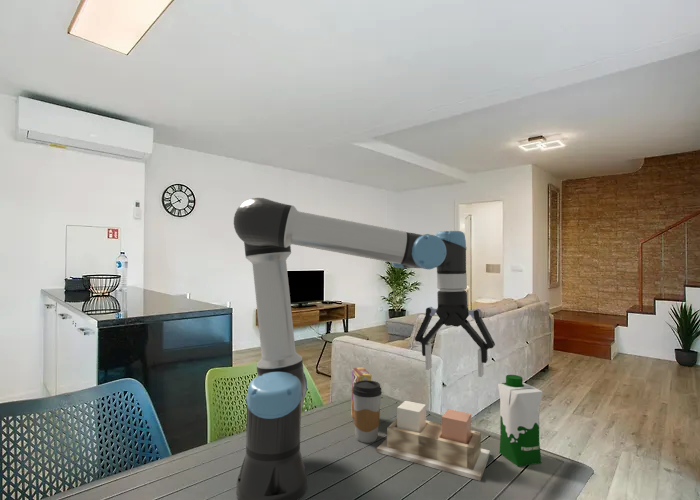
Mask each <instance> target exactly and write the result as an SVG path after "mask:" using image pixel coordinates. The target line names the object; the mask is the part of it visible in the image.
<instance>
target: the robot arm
mask: <svg viewBox="0 0 700 500" xmlns="http://www.w3.org/2000/svg"><path fill="white" fill-rule="evenodd" d="M233 228H234V231H235V233H236V235H237V237H238V238H239V239H240V240H241V241H242V242H243V244H244V245H243V246H244V254H245V259H247V260H248V261H249V262H250V263H251V265H252V274H253V281H254V282H253V283H254V294H255V303H256V312H257V313H256V314H257V320H258V323H257V324H258V331H259V332H258V334H259V341H260V352H261V358H260V359H259V360H258V361H257V363H256V373H257V376H256V377H255V378H253V379H252V380H251V381H250V382H249V385H248V388H247V394H246V398H245V400H246V401H245V402H246V425H245V426H246V430H245V431H246V435H245V436H246V437H245V456H244V458H243V461H242V465H241V468H240V470H239V474H238V476H237V479H236V492H235V493H236V498H237V499H238V500H300V499H301V498H302V497H304V496H305V494H306V492H307V489H308V472H307V468H305V464H304V460H303V456H302V452H301V426H302V425H301V422H302V421H301V419H302V410H303V405H304V400H305V397H306V393H307V390H308V382H307V381H308V380H307V379H308V378H307V377H306V374H305V372H304V365H303V362H304V361H303V357H302V355H301V354H299V353H297V351H296V344H295V343H296V342H295V334H294V332H295V331H294V322H293V315H292V304H291V296H290V295H291V292H290V285H289V284H290V283H289V277H288V266H287V265H288V264H287V259H288V258H289V256H290V255H291V254H292V247H291V245H295V246H300V247H306V248H312V249H316V250H320V251H321V250H322V251H328V252H333V253H339V254H343V255H350V256H355V257H361V258H366V259H370V260H371V259H372V260H376V261H377V260H378V261H382V262H388V263H391V264H392V267H393V268H395V269H403V270H404V269H423V270H433V269H435V268H436V278H437V279H436V280H437V283H436V285H437V286H436V287H437V289H438V291H437V308H436V307H435V308H434V307H432V306H429V307H426V309H425V315H424V318H423V319H422V322H421V324H420V325H419V329H418V331H417V333H416V334H415V335H416V336H415V337H414V341H416V342H419V343H420V344H421V354H422V356H423V357H425V370H427V371H429V370H430V369H432V367H433V366H432V365H433V363H432V361H433V360H432V343H431V342H430V340H431V339H432V338H433V337H434V336H435V335H436V333H437V332H438V331H439V329H441V327H442V326H444V325H445V326H446V327H450V326H451V327H461V328H462V329H463V330H465V331H466V333H467V334H468V335H469V336H470V338H471V339H472V341H474V343H475V344H476V345H477V346H478V347H479V349H477V370H478V371H477V372H478V373H477V377H479V378H483V376H484V374H485V370H484V369H485V368H484V367H485V366H484V364H486V363H487V362H488V359H489V358H488V350H489V349H493V348H494V347H495V346H496V343H495V341H494V339H493V337H492V336H491V334H490V331H489V329H488V328H487V326H486V324H485V322H484V319H483V318H482V311H481V310H480V309H479V308H477V309H473V310H472V309H471V310H469V307H468V291H466V289H467V287H468V282H467V281H468V278H467V277H468V276H467V242H466V234H465V233H464V232H463V231H462V230H444V231H443V230H442V231H437V232H436V234H435V235H434V234H429V233H426V234H419V233H416V232H415V233H414V232H406V231H403V230H399V229H393V228H387V227H383V226H379V225H378V226H377V225H374V224H373V225H371V224H368V223H362V222H355V221H353V220H346V219H340V218H335V217H329V216H325V215H319V214H314V213H309V212H305V211H304V212H303V211H299V210H298V209H297V208H296V206H294V205H291V204H286V203H282V202H278V201H274V200H271V199H268V198H264V197H252V198H250V199H246V200H245V201H244V202H242V203H241V204H240V205H239V206H238V208H236V210H235V213H234V216H233ZM435 314H436V315H437V317H438V318H439V319H438V321H436V322H435V324H434V326H432V328H431V329H430V330H428V331H429V332H428V333H427V334H426V332H427V331H426V330H427V329H428V326H429V325H430V322H431V321H432V318H433V317H434V316H435ZM469 316H470V317H471V318H472V319H474V321H475V322H474V323H475V324H476V326H477V328H478V329H479V331H480V334H481V335H480V334H479V333H478V332H477V331H476V329H474V327H473V326H472V325H471V323H470V322H469V321H468V317H469ZM425 334H426V335H425ZM424 335H425V336H424ZM481 336H482V337H483V338H482V337H481Z"/></svg>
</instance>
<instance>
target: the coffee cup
mask: <svg viewBox="0 0 700 500" xmlns="http://www.w3.org/2000/svg"><path fill="white" fill-rule="evenodd" d="M352 392H353V399H354V419H353V423H354V436H355V439H356V440H357V441H358V442H361V443H368V444H369V443H373V442H375V441H376V440H377V439H378V437H379V425H380V415H381V414H380V413H381V399H382V393H383V391H382V387H381V384H380V383H379V382H378V381H376V380H375V381H374V380H371V381H370V380H362V381H357V382H355V384H354V387H353V391H352V390H351V393H352Z"/></svg>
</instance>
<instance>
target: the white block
mask: <svg viewBox="0 0 700 500" xmlns="http://www.w3.org/2000/svg"><path fill="white" fill-rule="evenodd" d="M396 419H397V428H401V429H405V430H409V431H413V432H417V433H421V432H422V430H423V429H424V428H425V427H426V420H427V405H426V404H424V403H419V402H413V401H409V400H404V401H403V402H402V403H400V405H399V406H397V408H396Z"/></svg>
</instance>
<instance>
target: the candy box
mask: <svg viewBox="0 0 700 500" xmlns="http://www.w3.org/2000/svg"><path fill="white" fill-rule="evenodd" d="M351 376H352V377H351V380H352V381H351V409H350V410H351V411H350V412H351V413H350V415H351V417H352V419H353V420H354V399H353V392H352V391H353V387H354V384H355V382H357V381H362V380H370V381H372V375H371V373H370V372H369V371H368V370H367V369H366V368H365V367H353V368H352V375H351Z"/></svg>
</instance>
